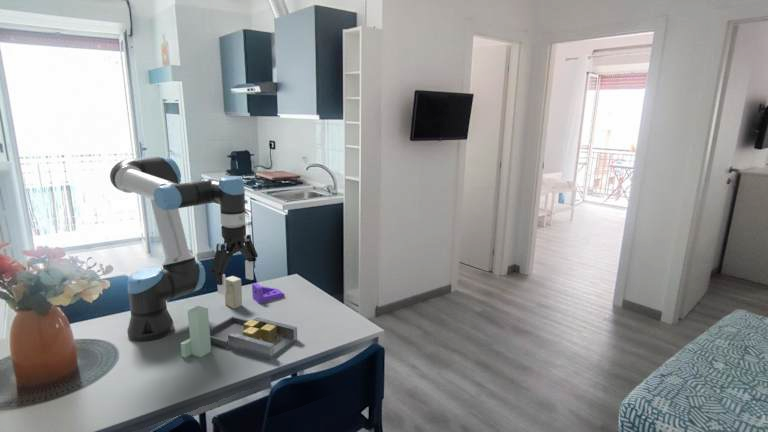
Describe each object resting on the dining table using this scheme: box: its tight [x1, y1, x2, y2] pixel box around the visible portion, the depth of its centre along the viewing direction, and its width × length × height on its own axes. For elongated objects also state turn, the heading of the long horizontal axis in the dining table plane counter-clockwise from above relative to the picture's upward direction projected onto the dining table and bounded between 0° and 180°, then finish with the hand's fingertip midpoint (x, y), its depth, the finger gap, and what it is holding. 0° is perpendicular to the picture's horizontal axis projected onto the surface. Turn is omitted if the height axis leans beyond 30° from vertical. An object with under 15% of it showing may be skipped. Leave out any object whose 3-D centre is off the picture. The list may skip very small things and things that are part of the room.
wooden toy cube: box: [243, 327, 260, 340], centre depth 152 cm, size 4×4×4 cm
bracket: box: [251, 282, 286, 304], centre depth 192 cm, size 12×7×7 cm, turn 128°
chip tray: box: [209, 315, 250, 349], centre depth 160 cm, size 12×16×2 cm
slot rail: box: [228, 316, 298, 361], centre depth 153 cm, size 18×15×5 cm
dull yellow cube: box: [244, 319, 260, 330], centre depth 158 cm, size 4×4×4 cm
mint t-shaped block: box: [180, 305, 212, 358], centre depth 146 cm, size 6×9×16 cm
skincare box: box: [224, 275, 243, 309], centre depth 183 cm, size 6×4×12 cm
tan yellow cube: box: [260, 324, 277, 341], centre depth 155 cm, size 4×4×4 cm
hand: (236, 285), depth 145 cm, fingers open, 13 cm apart
